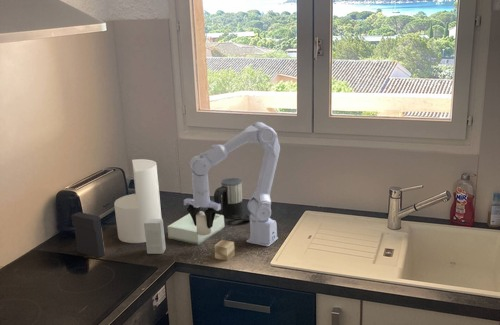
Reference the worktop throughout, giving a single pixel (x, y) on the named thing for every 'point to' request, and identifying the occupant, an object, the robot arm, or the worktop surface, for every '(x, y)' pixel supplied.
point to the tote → (192, 229)
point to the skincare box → (154, 236)
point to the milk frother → (230, 199)
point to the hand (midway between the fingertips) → (203, 226)
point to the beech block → (224, 250)
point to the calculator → (88, 234)
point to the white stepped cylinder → (139, 203)
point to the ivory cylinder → (202, 224)
